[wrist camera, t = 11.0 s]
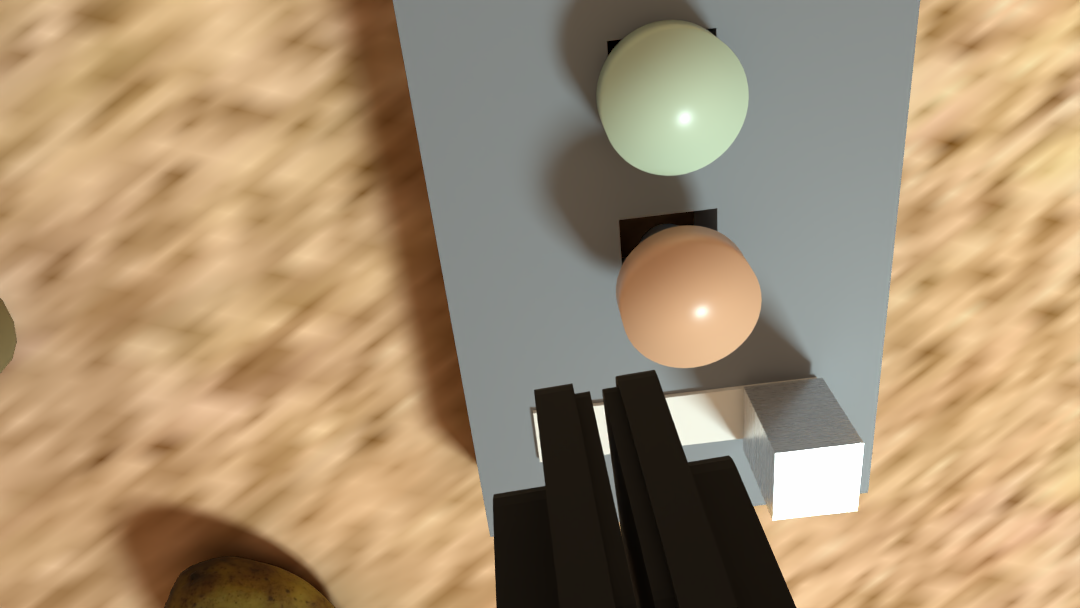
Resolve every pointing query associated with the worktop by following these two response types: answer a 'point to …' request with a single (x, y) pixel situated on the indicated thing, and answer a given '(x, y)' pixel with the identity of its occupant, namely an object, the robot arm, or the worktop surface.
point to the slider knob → (801, 449)
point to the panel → (656, 207)
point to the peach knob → (687, 296)
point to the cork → (6, 337)
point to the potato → (242, 586)
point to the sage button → (671, 97)
